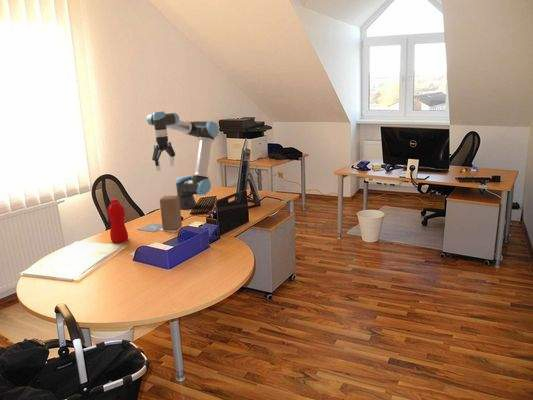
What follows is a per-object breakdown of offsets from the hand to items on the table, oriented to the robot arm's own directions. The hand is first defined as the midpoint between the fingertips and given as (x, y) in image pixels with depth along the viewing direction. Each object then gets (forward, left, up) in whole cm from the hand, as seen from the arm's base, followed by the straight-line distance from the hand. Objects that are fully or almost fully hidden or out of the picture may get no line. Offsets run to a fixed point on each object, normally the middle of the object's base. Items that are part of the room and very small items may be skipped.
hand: (165, 168), depth 291 cm
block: (+15, +14, -35) cm, 41 cm away
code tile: (+18, +1, -35) cm, 39 cm away
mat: (+15, +15, -35) cm, 41 cm away
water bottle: (+44, 0, -35) cm, 56 cm away
